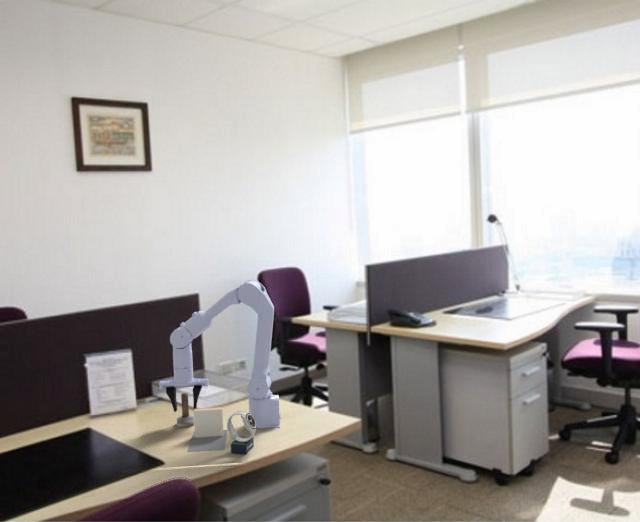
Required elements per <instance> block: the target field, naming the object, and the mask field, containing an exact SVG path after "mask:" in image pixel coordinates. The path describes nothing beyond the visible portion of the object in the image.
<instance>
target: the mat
mask: <svg viewBox="0 0 640 522" xmlns="http://www.w3.org/2000/svg"><path fill="white" fill-rule="evenodd" d="M223 432H224V434H223V436H214V437H198V438H195V431H193V433H192V436H191V440H190V441H189V445H188V448H187V453H193V452H195V453H196V452H209V451H210V452H211V451H223V450H226V443H227V438H228V437H227V436H228V432H229V431H228V429H223Z"/></svg>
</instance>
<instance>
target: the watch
mask: <svg viewBox="0 0 640 522" xmlns="http://www.w3.org/2000/svg"><path fill="white" fill-rule="evenodd" d="M234 416H240V418H241V419H242V423H243V425H244V427H245V428H246V430H247V431H248V432H249V433H250V436H239V435H238V432H237V430H235V427H234V425H233V422H232V420H233V419H232V418H233V417H234ZM257 429H258V428H257V422H256V420H255V418H254V416H253V415H252V414H251V413H249V411H245V410H238V411H236V412H234V413H232V414H231V415H230V416H229V417H228V419H227V423H226V430H228V431H227V432H228V433H229V435H230V437H231V439H232V440H233V441H232V442H231V443H230V453H231V454H234V455H248V454H249V452H250V451H251V450H252V449H253V448H254V445H255V444H254V436H255V434H256V432H257Z"/></svg>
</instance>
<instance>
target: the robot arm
mask: <svg viewBox="0 0 640 522" xmlns="http://www.w3.org/2000/svg"><path fill="white" fill-rule="evenodd" d="M241 303H242V304H244V305H246V306H248V307H249V308H251V309H252V310H253V311H254V312H255V313H256V314H257V324H256V325H257V326H256V333H255V336H256V337H255V346H254V356H253V357H254V359H253V367H252V372H251V378H250V381H249V382H248V384H247V387H246V389H247V392H248V413H251V414H252V415H253V416H254V418H255V420H256V422H257V428H256V429H263V428H265V429H266V428H278V429H279V428H280V427H281V423H280V422H281V421H280V420H281V412H280V400H279V399H280V398H279V397H280V396H279V394H273V392H272V391H271V389H270V387H271V385H272V383H273V379H272V375H271V372H270V370H271V367H270V361H271V351H272V350H271V349H272V338H273V328H274V326H273V325H274V318H275V317H274V315H275V306H274V304H273V302H272V300H271V298H270V296H269V295H268V292H267V289H266V288H265V286H264V285H263V283H261V282H259V281H258V280H256V279H248V280H247V281H245V282H244V283H243V284H240V285H239V286H236V287H234V288H233V289H232V290H230V291H228V292H227V293H226V294H224V295H223V296H222V297H221V298H220V299H218V300H217V302H215V303H214V304H213V305H212V306H211V307H209V308H208V309H207V310H198V311H195V312H193V313H192V314H191V317H190V318H189V319H188V320H186V321H185V322H184V321H182V322H180V324H179V327H177V328H176V329H174V330H173V331H172V332H171V334H170V336H169V342H170V344H171V345H172V361H173V362H172V363H173V379H167V380H162V381H161V380H160V381H159V382H158V386H159V390H163V389H165V393H166V395H167V397H168V398H169V401H170V402H171V404H172V408H173V412H174V413H176V412H177V411H178V402H177V388H190V387H193V388H192V397H193V410H194V409H198V408H197V407H198V399H199V396H200V393H201V391H202V389H203V387H206V388H207V387H208V386H209V384H210V383H209V378H197V377H194V362H193V350H192V349H193V348H192V347H193V346H192V342H193V340H194V339H196V338H198V337H199V336H201V334H203V333H204V332H205V331H206V330H208V328H210V327H211V326H212V324H213V319H215V318H216V317H217V316H218V315H220V314H221V313H222V312H224V311H225V310H226V309H228V308H229V307H230V306H233V305H240V304H241Z"/></svg>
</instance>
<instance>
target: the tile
mask: <svg viewBox="0 0 640 522" xmlns="http://www.w3.org/2000/svg"><path fill="white" fill-rule="evenodd" d="M223 411H224V410H223V407H222V406H220V407H206V408H205V407H204V408H202V407H201V408H199V407H198V408H197V409H193V414H194V432H195V438H198V437H214V436H223V434H224V432H223V430H224V416H223V415H224V414H223V413H224V412H223Z"/></svg>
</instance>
